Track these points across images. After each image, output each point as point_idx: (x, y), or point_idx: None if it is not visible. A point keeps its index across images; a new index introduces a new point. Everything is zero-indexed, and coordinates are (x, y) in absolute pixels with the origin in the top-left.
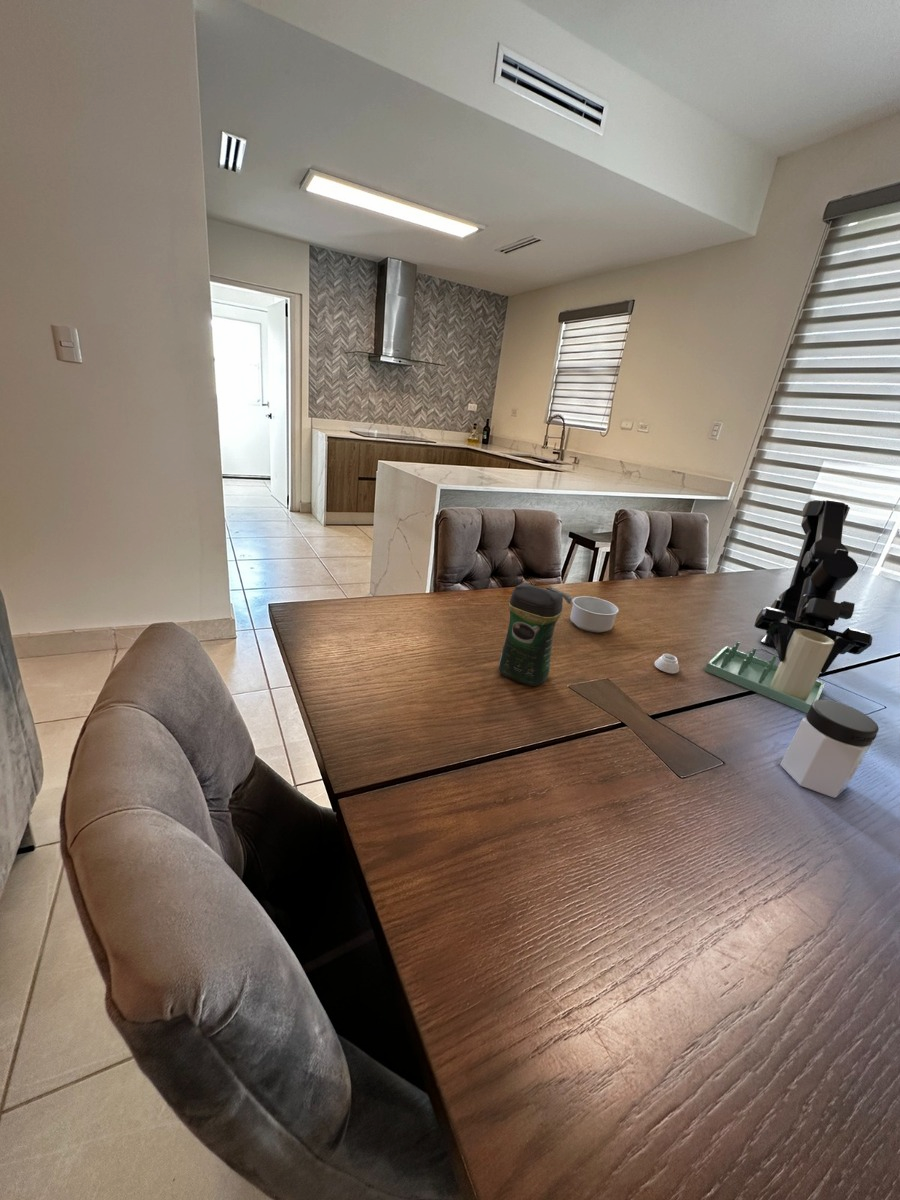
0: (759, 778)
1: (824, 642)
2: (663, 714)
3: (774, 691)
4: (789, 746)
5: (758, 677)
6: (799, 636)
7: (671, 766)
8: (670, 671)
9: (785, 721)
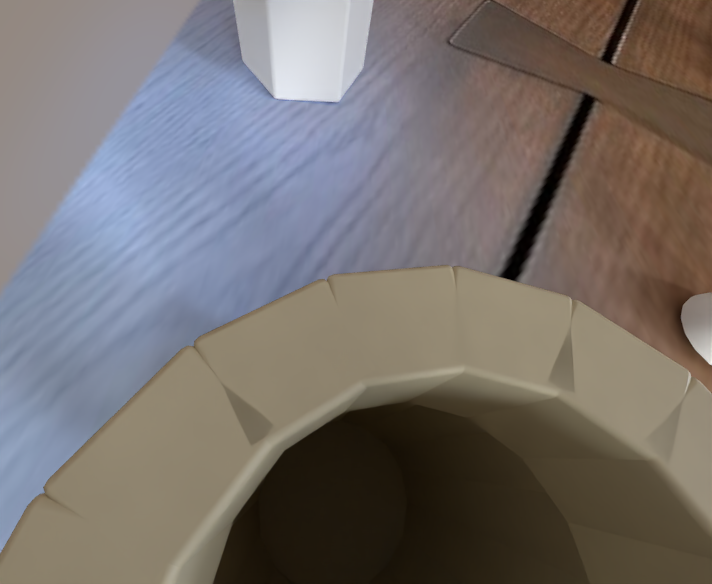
0: (392, 32)
1: (271, 404)
2: (581, 114)
3: None
4: (371, 11)
5: None
6: (689, 377)
7: (506, 11)
8: (696, 295)
9: (345, 249)
